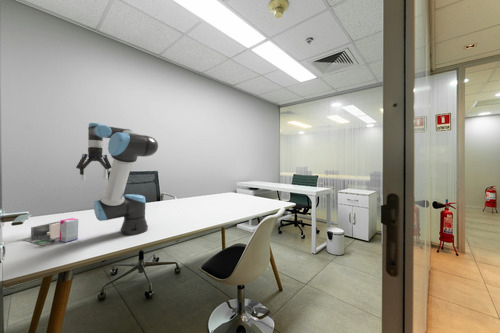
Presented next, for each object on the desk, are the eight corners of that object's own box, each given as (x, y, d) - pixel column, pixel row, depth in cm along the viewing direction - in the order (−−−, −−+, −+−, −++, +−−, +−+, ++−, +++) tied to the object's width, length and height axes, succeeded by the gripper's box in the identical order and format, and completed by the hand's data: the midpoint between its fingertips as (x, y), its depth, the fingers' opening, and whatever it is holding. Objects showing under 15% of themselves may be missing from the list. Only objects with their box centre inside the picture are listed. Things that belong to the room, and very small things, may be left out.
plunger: (68, 234, 114) (68, 221, 114) (37, 243, 102) (37, 228, 102) (59, 232, 117) (59, 219, 117) (28, 240, 104) (28, 225, 104)
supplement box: (78, 239, 110) (78, 218, 110) (65, 243, 104) (66, 221, 104) (71, 237, 112) (72, 217, 112) (58, 241, 106) (59, 220, 106)
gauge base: (78, 235, 115) (78, 225, 115) (43, 245, 100) (43, 234, 100) (58, 231, 121) (58, 221, 121) (23, 240, 106) (23, 229, 106)
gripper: (110, 148, 142) (109, 177, 143) (69, 145, 119) (68, 180, 119) (117, 148, 140) (117, 178, 140) (77, 145, 116) (76, 180, 117)
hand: (94, 179), depth 130 cm, fingers open, 13 cm apart
